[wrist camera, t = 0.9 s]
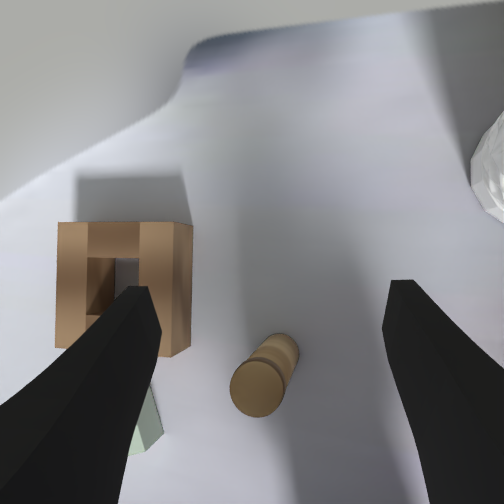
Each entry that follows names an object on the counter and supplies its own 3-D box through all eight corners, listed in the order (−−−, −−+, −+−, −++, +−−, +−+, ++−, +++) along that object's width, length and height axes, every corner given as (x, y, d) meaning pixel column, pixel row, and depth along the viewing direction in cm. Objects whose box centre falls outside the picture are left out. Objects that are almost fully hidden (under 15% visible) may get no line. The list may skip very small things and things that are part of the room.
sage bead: (164, 433, 26) (145, 451, 23) (101, 449, 27) (77, 468, 24) (142, 361, 26) (121, 371, 24) (82, 380, 27) (56, 392, 25)
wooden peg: (299, 374, 24) (282, 421, 17) (260, 371, 24) (228, 415, 17) (300, 334, 24) (283, 365, 17) (260, 331, 24) (229, 360, 17)
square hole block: (190, 346, 25) (170, 357, 22) (85, 338, 27) (54, 347, 24) (193, 225, 25) (173, 221, 22) (88, 226, 27) (58, 222, 24)
